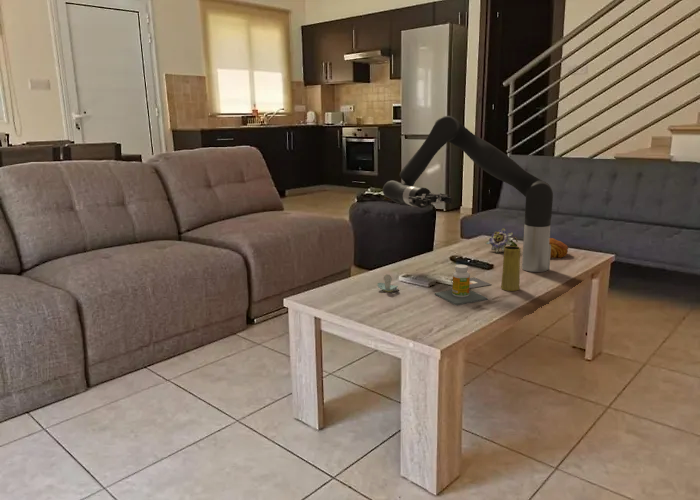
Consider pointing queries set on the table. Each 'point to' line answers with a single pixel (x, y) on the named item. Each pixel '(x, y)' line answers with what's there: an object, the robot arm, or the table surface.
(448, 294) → the slate pad
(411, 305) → the table surface
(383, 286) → the pacifier
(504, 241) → the passion flower
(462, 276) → the supplement bottle
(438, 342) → the table surface
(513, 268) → the vase
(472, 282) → the dark gray tile
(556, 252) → the croissant
